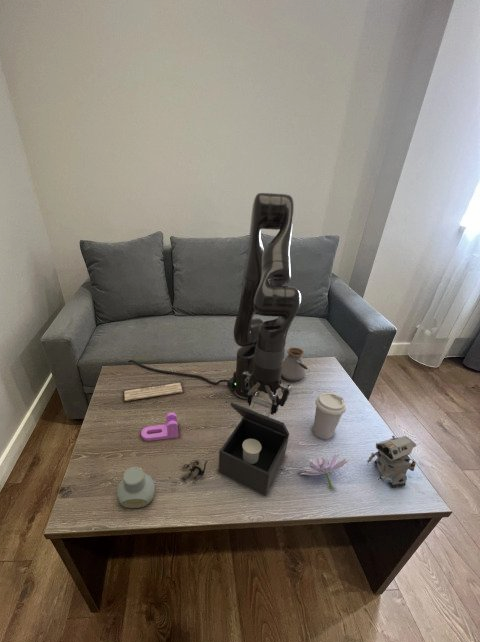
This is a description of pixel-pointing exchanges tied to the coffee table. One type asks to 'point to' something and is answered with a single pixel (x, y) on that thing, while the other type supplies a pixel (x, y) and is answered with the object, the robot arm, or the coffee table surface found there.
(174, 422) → the bracket
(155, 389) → the wooden plank
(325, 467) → the water lily
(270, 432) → the open lidded box
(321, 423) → the coffee cup
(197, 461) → the creature
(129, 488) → the air freshener
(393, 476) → the figurine
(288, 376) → the coffee pot
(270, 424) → the lid
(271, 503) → the coffee table surface
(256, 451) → the coffee pod
